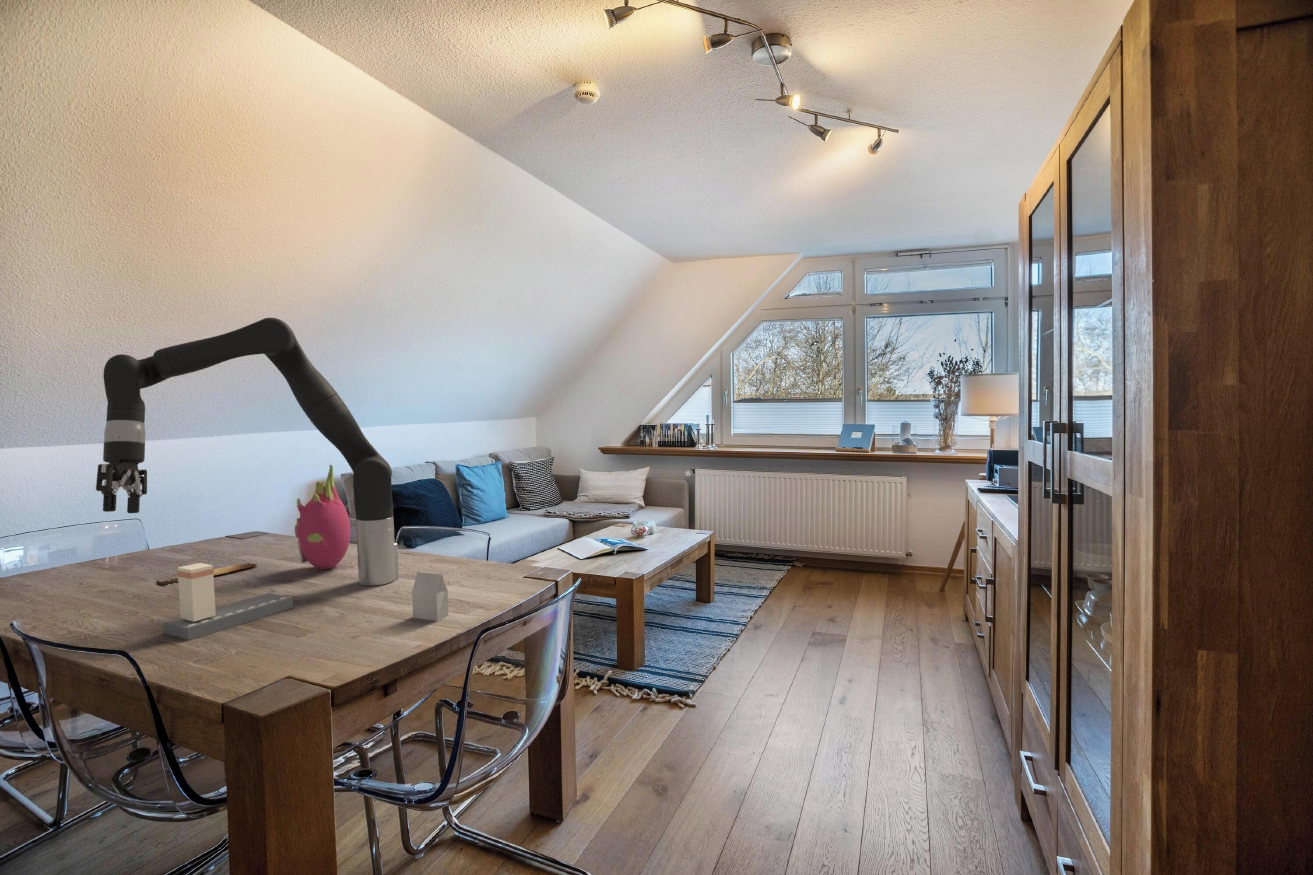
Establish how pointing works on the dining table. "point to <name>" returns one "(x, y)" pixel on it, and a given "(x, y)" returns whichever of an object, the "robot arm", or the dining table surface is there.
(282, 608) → the toy road segment
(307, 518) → the pink dragon fruit
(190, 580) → the cream block
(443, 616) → the grey milk carton
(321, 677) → the dining table surface
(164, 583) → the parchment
